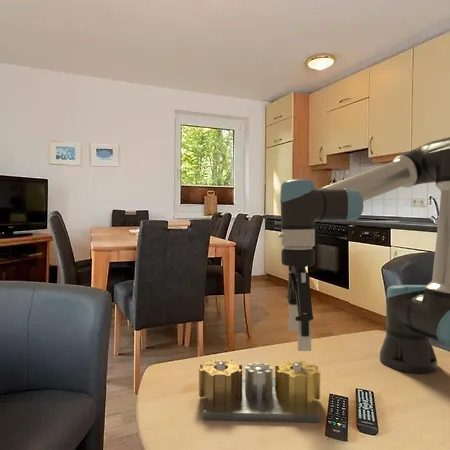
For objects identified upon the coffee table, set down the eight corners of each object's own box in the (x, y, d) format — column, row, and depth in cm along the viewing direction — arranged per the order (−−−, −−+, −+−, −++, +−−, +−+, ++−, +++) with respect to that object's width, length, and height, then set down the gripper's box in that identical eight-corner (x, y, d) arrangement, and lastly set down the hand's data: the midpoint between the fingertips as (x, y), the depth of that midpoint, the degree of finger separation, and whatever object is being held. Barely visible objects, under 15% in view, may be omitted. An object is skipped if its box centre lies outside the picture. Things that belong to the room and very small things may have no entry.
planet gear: (314, 385, 91) (314, 360, 91) (323, 405, 81) (324, 377, 81) (273, 384, 91) (273, 359, 91) (277, 404, 81) (278, 376, 81)
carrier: (304, 384, 95) (304, 350, 95) (319, 422, 77) (319, 381, 77) (209, 382, 96) (209, 349, 96) (203, 419, 78) (203, 378, 78)
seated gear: (241, 383, 91) (241, 359, 91) (242, 403, 82) (242, 376, 81) (201, 382, 92) (201, 358, 92) (197, 402, 82) (197, 375, 82)
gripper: (275, 244, 98) (277, 324, 99) (288, 253, 73) (290, 360, 74) (304, 243, 98) (305, 324, 98) (327, 252, 73) (328, 360, 73)
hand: (299, 340), depth 86 cm, fingers open, 13 cm apart
